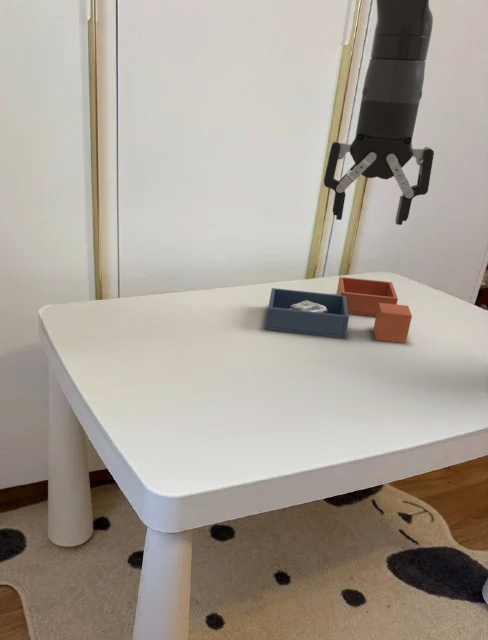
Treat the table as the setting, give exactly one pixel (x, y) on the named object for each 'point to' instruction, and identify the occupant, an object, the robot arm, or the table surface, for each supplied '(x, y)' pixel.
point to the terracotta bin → (366, 295)
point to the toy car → (309, 307)
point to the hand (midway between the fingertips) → (368, 221)
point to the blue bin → (307, 313)
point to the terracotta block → (392, 322)
